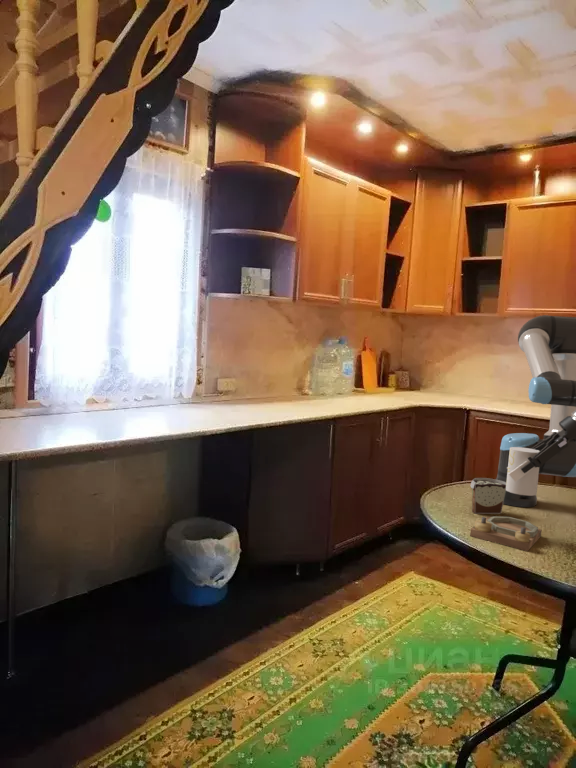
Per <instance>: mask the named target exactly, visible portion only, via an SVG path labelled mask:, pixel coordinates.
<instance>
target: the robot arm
mask: <svg viewBox="0 0 576 768" xmlns="http://www.w3.org/2000/svg"><path fill="white" fill-rule="evenodd" d="M517 342H518V345H519V346H518V347H519V348H520V350H521V351H522V352H524V354H525V355H524V356H525V357H526V360H527V363H528V368H529V371H530V373H531V377H532V378H531V379H530V382H529V385H528V391H527V392H528V399H529V401H531V403H537V404H542V405H551V406H550V414H549V415H550V416H549V429H548V431H546V432H545V433H544V434H543V439H542V438H541V439H540V436H539V435H537V434H536V433H529V432H527V433H526V432H516V433H508V434H505V435H504V436H502V439H501V442H500V447H499V450H500V451H499V456H498V457H499V458H498V459H499V460H498V467H497V475H496V478H495V479H496V480H500V481H504V482H506V481H507V471H508V461H509V451H510V447H522V448H530V449H535V450H539V451H540V452H538V453H537V454H536V455H535V456H534V457H532V458H531V457H528V460H527V461H525V462H524V463H523V464H521V465H520V466H518V467H517V468H516V469H514V470H513V471H512V472H510V473H509V475H510V476H511V477H512V478H513V480H514V481H515V482H516V481H517V480H519V479H520V478H522V477H523V476H524V475H526V474H527V473H529V472H530V471H531V470H533V469H534V468H536V467H539V475H547V476H549V475H550V476H557V477H563V478H566V477H568V478H576V317H575V316H574V317H573V316H559V315H554V316H553V315H549V314H548V315H547V314H546V315H544V314H543V315H538V316H535V317H532V318H531V319H529V320H528V321H526V322H525V323H524V324H523V325H522V327H521V328H520V330H519V332H518V333H517ZM537 501H538V497H537V494H536V495H533V496H528V495H519V494H514V493H511V492H508V491H506V493H505V497H504V502H503V505H508V506H513V507H520V508H533V507H536V506H537ZM535 505H536V506H535Z"/></svg>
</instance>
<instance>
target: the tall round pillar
mask: <svg viewBox="0 0 576 768" xmlns="http://www.w3.org/2000/svg"><path fill="white" fill-rule="evenodd" d="M538 452H540V451H539V450H535V449H530V448H522V447H510V451H509V461H508V471H507V481H506V491H508V492H511V493H514V494H519V495H528V496H533V495H536V496H537V495H538V494H537V491H538V484H539V483H538V482H539V475H540V474H539V467H536V468H534V469H533V470H531V471H530V472H529V473H527V474H526V475H524V476H523V477H522V478H520V479H519V480H517V481H516V482H515V481H514V480H513V478H512V477H511V476H510V475H509V473H510V472H512V471H513V470H514V469H516V468H517V467H518V466H520V465H521V464H523V463H524V462H525V461H527V460H528V457H531V458H532V457H534V456H535V455H536V454H537V453H538Z"/></svg>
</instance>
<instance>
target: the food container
mask: <svg viewBox="0 0 576 768" xmlns="http://www.w3.org/2000/svg"><path fill="white" fill-rule="evenodd" d="M469 486H470V488H471V490H472V491H471V492H472V495H471V497H472V500H471V501H472V503H471V505H472V506H471V507H472V508H471V511H472V513H473V514H475V515H480V514H481V515H484V514H485V515H487V514H488V515H489V514H491V515H492V514H495V515H498V514H500V515H501V514H502V512H503V507H504V506H503V505H504V504H503V502H504V497H505V493H506V482H504V481H500V480H496V478H494V479H493V478H489V477H488V478H487V477H474V478H473V479H472V480H471V482H470V485H469Z"/></svg>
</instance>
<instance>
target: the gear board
mask: <svg viewBox="0 0 576 768" xmlns="http://www.w3.org/2000/svg"><path fill="white" fill-rule="evenodd" d="M469 536H470V537H472V538H476V539H480V540H483V539H484V541H487V540H488V542H491V541H492V543H494V542H496V543H495V544H498V543H500V544H499V545H502V544H503V545H502V546H506V545H507V546H506V547H509V546H511V547H510V548H513V547H514V549H517V548H518V550H521V551H525V552H528V551H530V549H531V548H532V547H533V546H534V544H535V543H536V542H537V541H538V540H539V539H540V538H541V537H542V528H539V527H538V526H536V524H533V523H531V522H529V521H526V520H523V519H519V518H515V517H512V516H486V517H485V516H482V517H481V519H476V520H475V522H474V526H473V527H471V528H470V533H469Z"/></svg>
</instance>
